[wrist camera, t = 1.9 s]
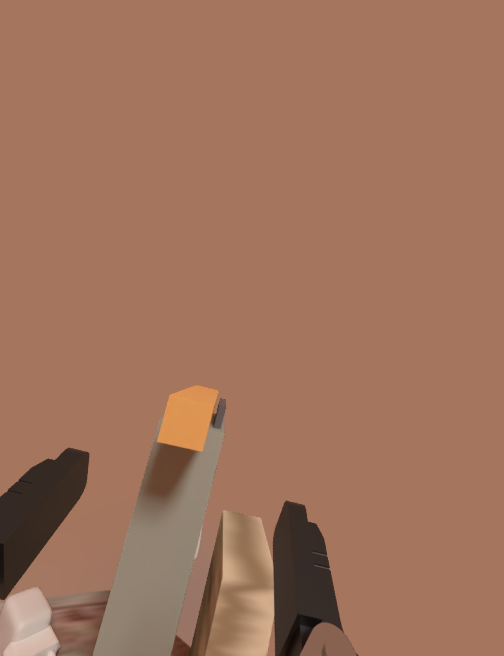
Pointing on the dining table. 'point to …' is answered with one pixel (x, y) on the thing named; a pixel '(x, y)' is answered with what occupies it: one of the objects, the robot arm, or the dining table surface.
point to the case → (160, 548)
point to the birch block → (237, 592)
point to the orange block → (188, 417)
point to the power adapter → (27, 625)
